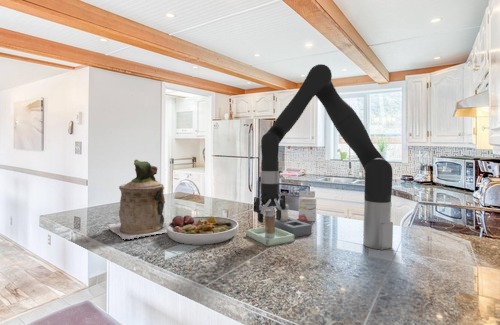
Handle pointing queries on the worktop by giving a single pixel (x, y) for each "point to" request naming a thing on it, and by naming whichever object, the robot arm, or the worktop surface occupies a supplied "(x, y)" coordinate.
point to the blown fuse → (270, 224)
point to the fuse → (285, 214)
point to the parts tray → (279, 238)
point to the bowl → (201, 229)
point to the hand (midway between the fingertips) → (269, 221)
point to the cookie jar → (141, 205)
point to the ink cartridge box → (307, 206)
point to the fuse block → (294, 227)
